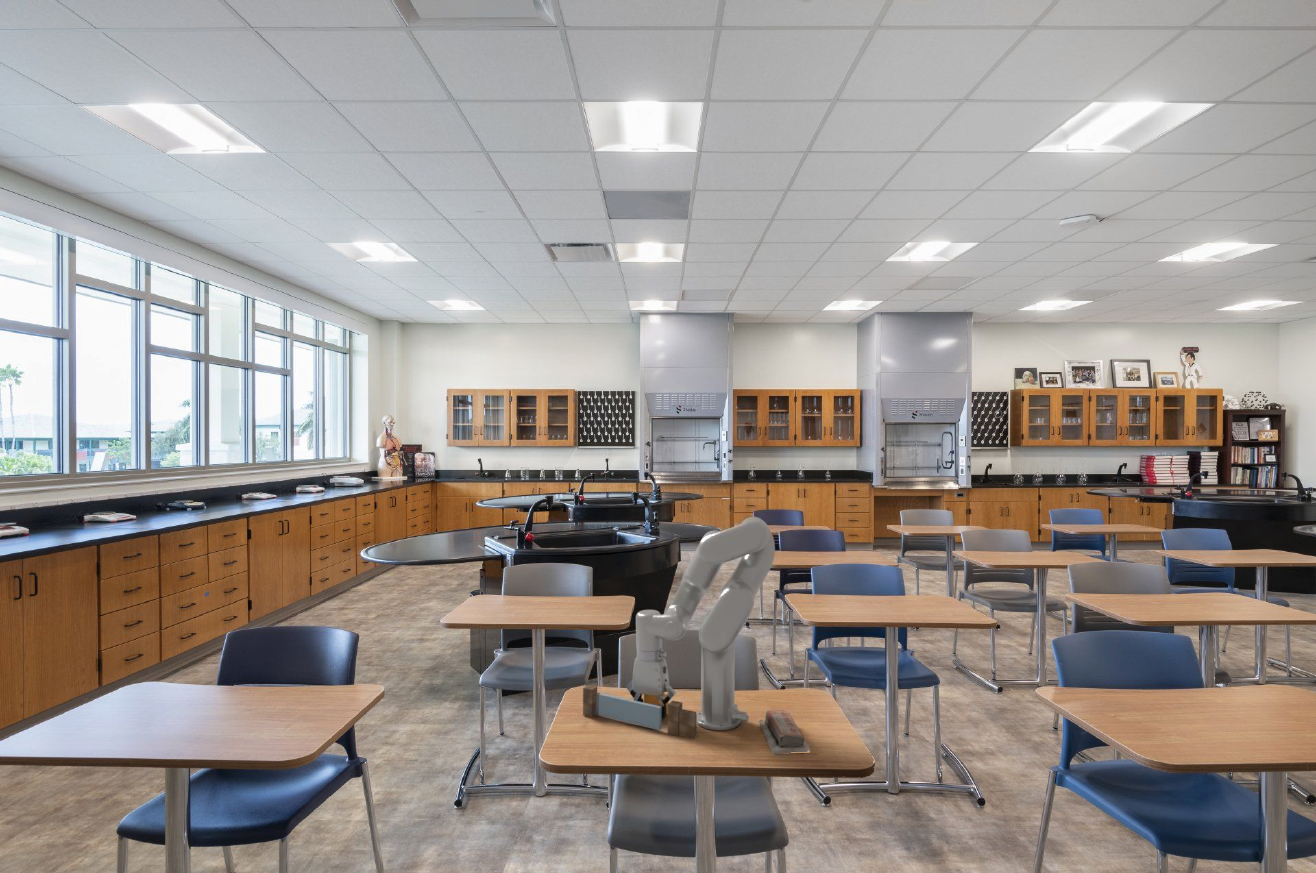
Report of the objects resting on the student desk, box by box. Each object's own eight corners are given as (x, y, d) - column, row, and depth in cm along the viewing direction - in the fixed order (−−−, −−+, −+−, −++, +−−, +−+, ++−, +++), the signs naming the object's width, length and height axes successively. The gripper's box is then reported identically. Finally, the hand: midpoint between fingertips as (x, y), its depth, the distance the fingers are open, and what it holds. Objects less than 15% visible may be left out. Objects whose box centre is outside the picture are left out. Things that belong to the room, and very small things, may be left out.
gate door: (595, 714, 183) (595, 693, 183) (597, 713, 184) (597, 692, 184) (659, 730, 173) (659, 708, 173) (661, 728, 174) (661, 706, 174)
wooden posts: (697, 734, 171) (697, 705, 172) (693, 739, 169) (693, 709, 169) (588, 711, 186) (588, 684, 186) (582, 715, 184) (583, 687, 184)
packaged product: (758, 708, 179) (793, 707, 179) (758, 725, 178) (793, 725, 179) (773, 737, 161) (811, 736, 161) (772, 756, 160) (811, 755, 161)
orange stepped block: (651, 708, 189) (651, 688, 189) (668, 713, 185) (668, 692, 185) (629, 721, 179) (629, 700, 180) (646, 726, 176) (646, 705, 176)
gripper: (682, 653, 183) (683, 716, 182) (630, 646, 191) (631, 706, 190) (670, 661, 176) (672, 726, 176) (617, 654, 184) (618, 716, 184)
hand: (651, 715), depth 183 cm, fingers closed on orange stepped block, 6 cm apart
